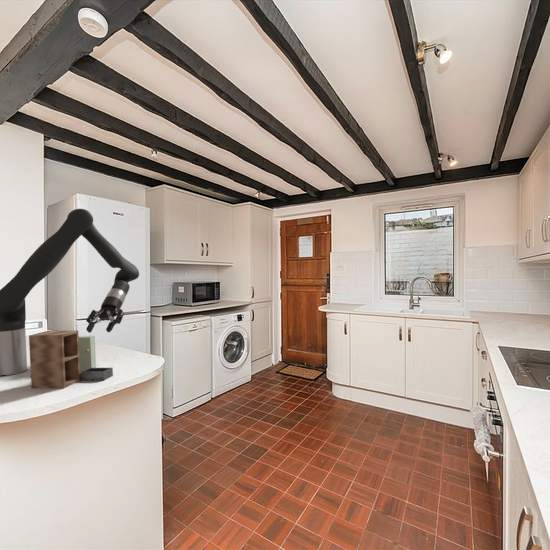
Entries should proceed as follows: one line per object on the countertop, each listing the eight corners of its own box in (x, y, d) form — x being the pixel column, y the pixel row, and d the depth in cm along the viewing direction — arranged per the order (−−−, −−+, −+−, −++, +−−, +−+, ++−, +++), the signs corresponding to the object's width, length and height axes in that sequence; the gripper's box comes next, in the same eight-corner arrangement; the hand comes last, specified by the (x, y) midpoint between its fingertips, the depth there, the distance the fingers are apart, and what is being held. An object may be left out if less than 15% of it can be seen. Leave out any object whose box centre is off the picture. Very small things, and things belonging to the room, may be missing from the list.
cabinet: (31, 388, 104) (28, 335, 104) (50, 380, 112) (47, 330, 112) (64, 388, 103) (61, 335, 103) (80, 380, 111) (78, 330, 110)
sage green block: (75, 374, 118) (73, 337, 117) (82, 371, 121) (80, 336, 121) (89, 374, 117) (88, 337, 117) (96, 371, 120) (94, 335, 120)
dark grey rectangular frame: (79, 380, 110) (79, 372, 110) (89, 375, 115) (89, 367, 115) (103, 380, 109) (103, 372, 109) (112, 375, 114) (112, 367, 114)
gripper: (95, 295, 136) (77, 326, 125) (125, 295, 134) (109, 325, 123) (103, 306, 141) (86, 336, 130) (132, 305, 140) (118, 336, 129)
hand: (98, 331), depth 127 cm, fingers open, 8 cm apart
